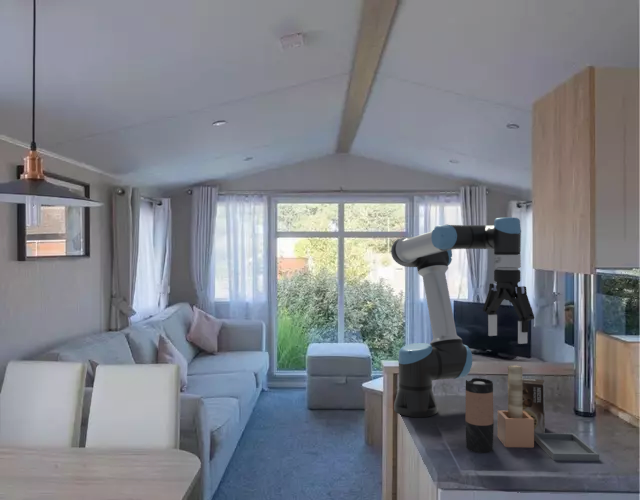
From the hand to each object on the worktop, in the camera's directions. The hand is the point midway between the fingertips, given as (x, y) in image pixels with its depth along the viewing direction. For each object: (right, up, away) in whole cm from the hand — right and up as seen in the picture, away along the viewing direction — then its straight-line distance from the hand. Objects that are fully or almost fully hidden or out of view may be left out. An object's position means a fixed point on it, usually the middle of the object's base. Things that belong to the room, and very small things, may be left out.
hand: (507, 339), depth 160 cm
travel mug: (-11, -31, -9) cm, 34 cm away
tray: (+13, -30, -10) cm, 34 cm away
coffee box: (+9, -31, +7) cm, 33 cm away
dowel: (+1, -29, -4) cm, 30 cm away
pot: (+1, -30, -4) cm, 31 cm away
